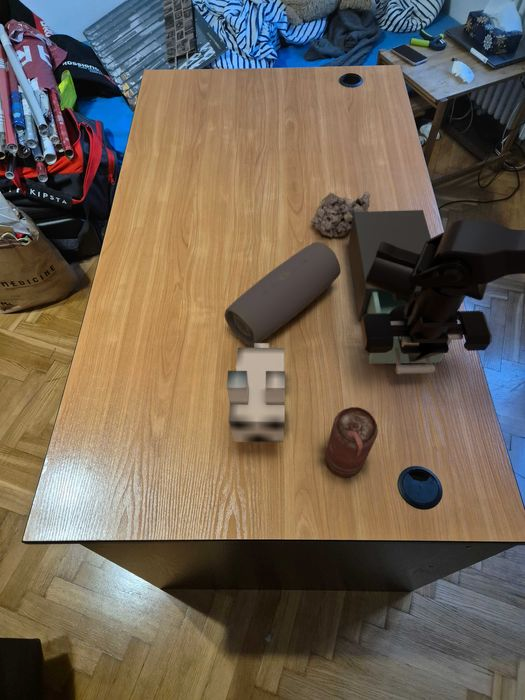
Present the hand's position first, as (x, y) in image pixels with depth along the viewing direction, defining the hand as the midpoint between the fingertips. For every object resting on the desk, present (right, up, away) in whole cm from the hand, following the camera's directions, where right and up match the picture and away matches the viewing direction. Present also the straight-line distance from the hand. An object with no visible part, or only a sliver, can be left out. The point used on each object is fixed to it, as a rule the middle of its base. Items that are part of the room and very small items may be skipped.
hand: (411, 359), depth 79 cm
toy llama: (-25, -9, +2) cm, 27 cm away
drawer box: (0, +16, +16) cm, 22 cm away
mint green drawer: (0, +5, +8) cm, 10 cm away
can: (-12, -16, -4) cm, 21 cm away
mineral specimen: (-8, +29, +25) cm, 39 cm away
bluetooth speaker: (-21, +9, +13) cm, 26 cm away
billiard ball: (0, +5, +7) cm, 8 cm away
